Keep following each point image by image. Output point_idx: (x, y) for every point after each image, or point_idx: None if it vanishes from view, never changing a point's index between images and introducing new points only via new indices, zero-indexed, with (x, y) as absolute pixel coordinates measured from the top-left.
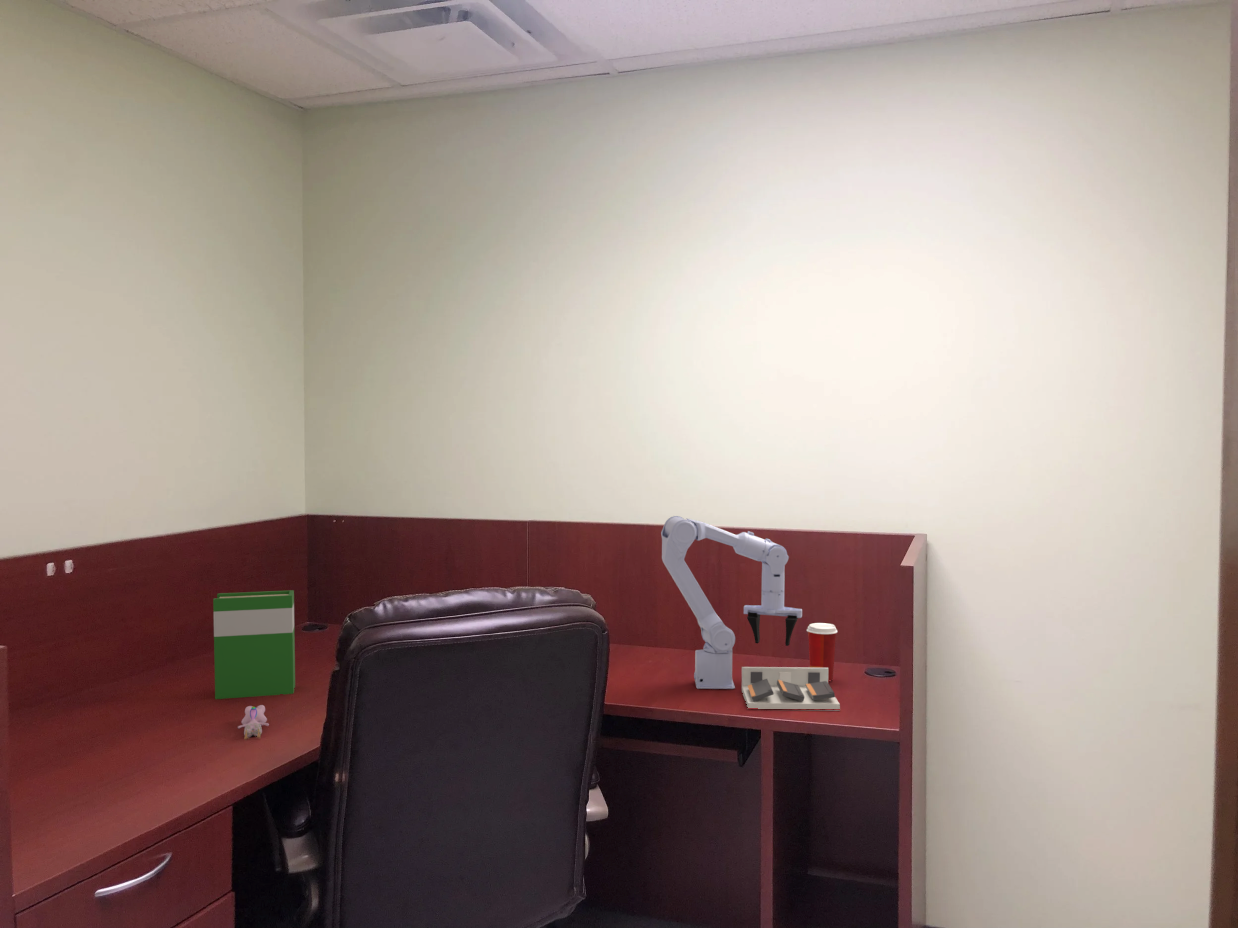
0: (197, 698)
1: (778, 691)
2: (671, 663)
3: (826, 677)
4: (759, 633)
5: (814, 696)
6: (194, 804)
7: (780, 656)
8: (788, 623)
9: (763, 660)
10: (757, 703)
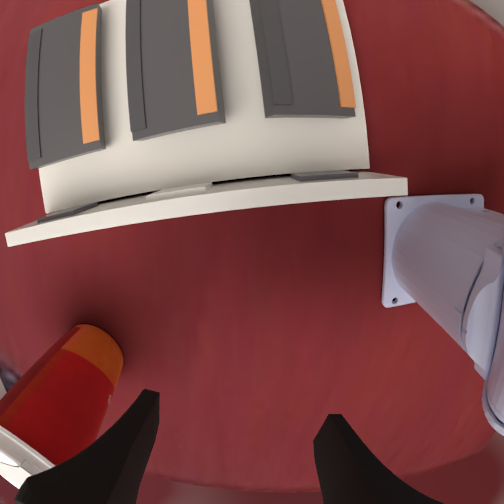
0: None
1: None
2: (466, 401)
3: (31, 223)
4: (319, 477)
5: (93, 6)
6: None
7: (224, 487)
8: (78, 495)
9: (263, 470)
10: None
